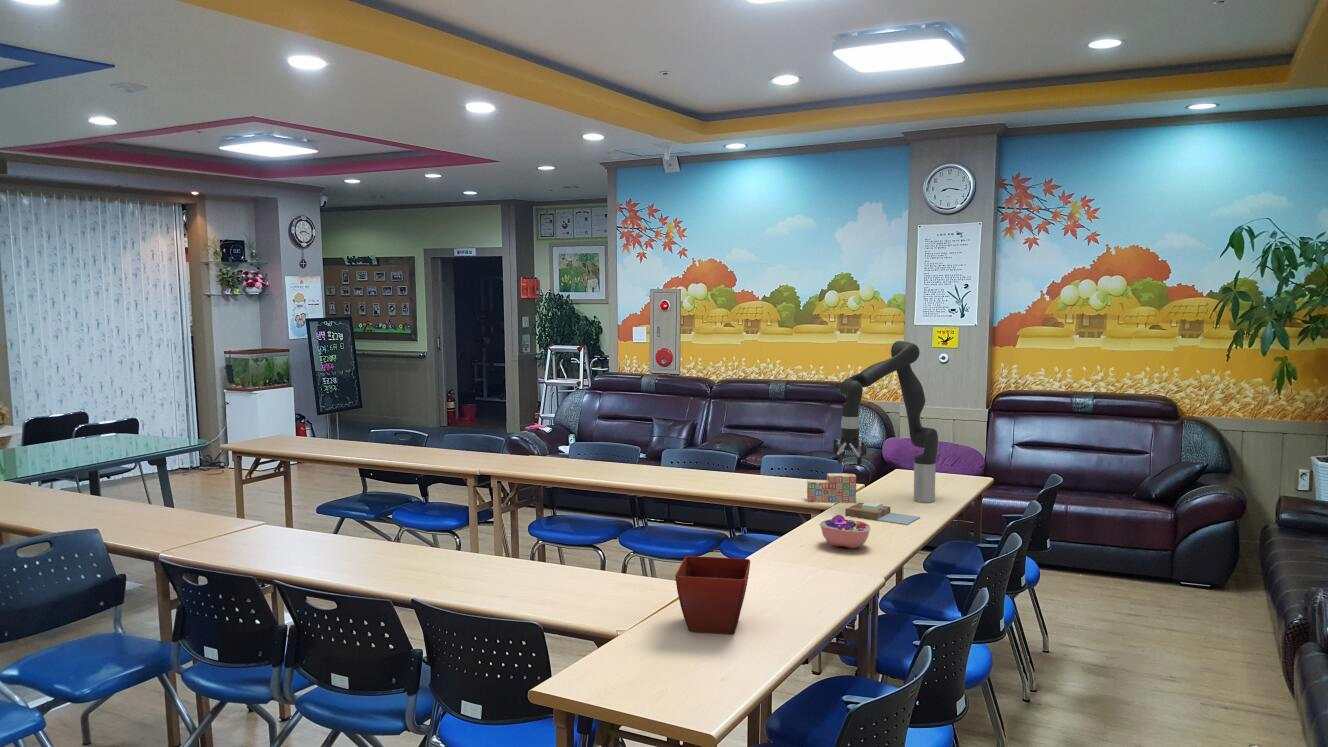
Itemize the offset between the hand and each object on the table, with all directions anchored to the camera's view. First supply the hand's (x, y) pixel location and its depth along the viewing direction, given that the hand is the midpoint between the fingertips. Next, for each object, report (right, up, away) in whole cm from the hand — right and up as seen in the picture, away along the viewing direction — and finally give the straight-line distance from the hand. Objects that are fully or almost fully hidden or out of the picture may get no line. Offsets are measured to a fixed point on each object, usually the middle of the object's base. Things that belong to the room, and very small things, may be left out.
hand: (849, 464), depth 380 cm
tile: (+9, -18, -5) cm, 21 cm away
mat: (+18, -22, -11) cm, 30 cm away
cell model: (-12, -25, -52) cm, 59 cm away
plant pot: (-65, -32, -130) cm, 149 cm away
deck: (+7, -21, -3) cm, 22 cm away
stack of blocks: (-3, -19, +23) cm, 30 cm away
